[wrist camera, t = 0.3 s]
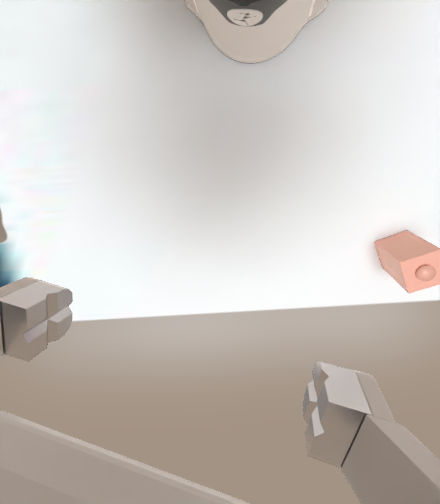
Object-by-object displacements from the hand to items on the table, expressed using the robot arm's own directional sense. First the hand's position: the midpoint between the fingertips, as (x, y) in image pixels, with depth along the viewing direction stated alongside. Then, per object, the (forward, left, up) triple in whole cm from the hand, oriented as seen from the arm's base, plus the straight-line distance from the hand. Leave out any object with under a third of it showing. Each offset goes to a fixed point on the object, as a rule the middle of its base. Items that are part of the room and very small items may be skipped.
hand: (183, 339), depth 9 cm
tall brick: (+8, +25, -39) cm, 47 cm away
